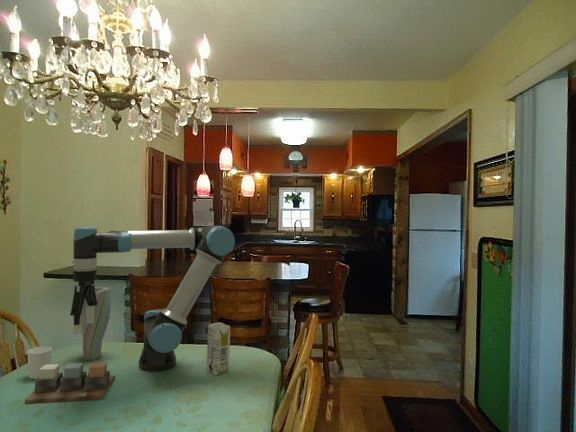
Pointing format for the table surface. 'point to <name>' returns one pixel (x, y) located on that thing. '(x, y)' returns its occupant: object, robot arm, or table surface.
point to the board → (70, 388)
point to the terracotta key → (98, 370)
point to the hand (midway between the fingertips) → (84, 328)
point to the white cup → (38, 360)
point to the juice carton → (218, 348)
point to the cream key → (49, 371)
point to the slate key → (73, 371)
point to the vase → (96, 323)
